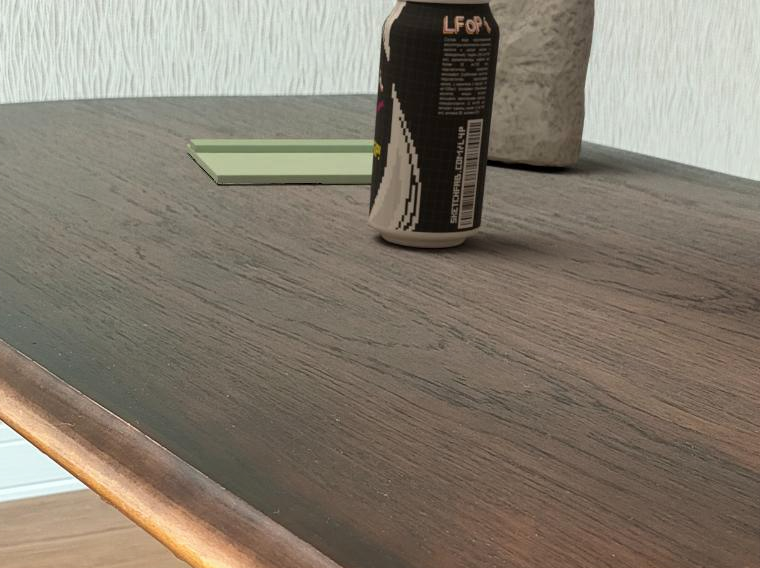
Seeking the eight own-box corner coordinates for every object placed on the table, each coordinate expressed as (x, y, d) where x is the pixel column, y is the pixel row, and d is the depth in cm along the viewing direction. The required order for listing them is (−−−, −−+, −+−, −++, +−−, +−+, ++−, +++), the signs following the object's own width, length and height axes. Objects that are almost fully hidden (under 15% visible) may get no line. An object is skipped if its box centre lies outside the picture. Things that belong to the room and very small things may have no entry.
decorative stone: (593, 167, 98) (624, -74, 92) (545, 176, 94) (575, -75, 88) (460, 146, 105) (480, -79, 99) (410, 154, 101) (429, -80, 94)
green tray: (411, 152, 101) (413, 136, 101) (468, 183, 91) (470, 165, 90) (186, 152, 99) (186, 136, 98) (217, 184, 88) (217, 166, 87)
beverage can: (382, 224, 78) (399, -13, 73) (487, 234, 76) (512, -8, 72) (355, 245, 73) (371, -8, 68) (467, 256, 72) (492, -2, 67)
